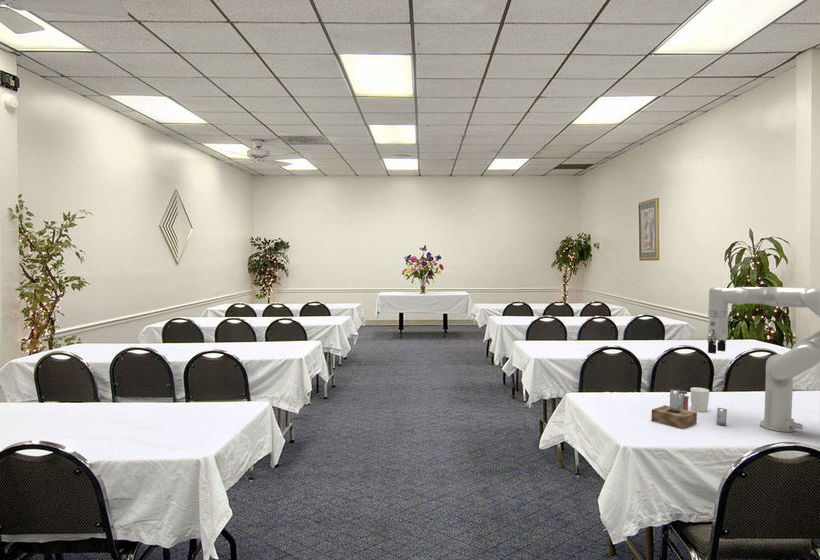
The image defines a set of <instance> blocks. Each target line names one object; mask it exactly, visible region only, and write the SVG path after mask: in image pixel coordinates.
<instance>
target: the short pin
mask: <svg viewBox="0 0 820 560" xmlns="http://www.w3.org/2000/svg"><path fill="white" fill-rule="evenodd" d="M727 413H728V409H726V408H724V407H717V408H716V425H717V426H719V427H720V426H721V427H726V426H727V417H728V416H727Z"/></svg>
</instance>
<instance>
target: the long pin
mask: <svg viewBox="0 0 820 560" xmlns="http://www.w3.org/2000/svg"><path fill="white" fill-rule="evenodd" d="M677 390H678V389H670V390H669V391H670V394H669V406H670V412H673V413H679V391H677Z"/></svg>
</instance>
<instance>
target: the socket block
mask: <svg viewBox="0 0 820 560" xmlns="http://www.w3.org/2000/svg"><path fill="white" fill-rule="evenodd" d="M697 416H698V412H697V411H693V410H689V409H688V410H683V409H679V413H673V412H670V405H666V404H665V405H662V406H658V407H656V408H653V409H651V418H650V419H651V421H652V422H654V421H655V423H658V422H659V424H662V425H666V426H670V427H675V428H678V429H682V430H685V429H688V428H690V427H692V426H696V425H697V424H698V421H697V420H698V417H697Z"/></svg>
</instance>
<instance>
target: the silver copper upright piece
mask: <svg viewBox="0 0 820 560" xmlns="http://www.w3.org/2000/svg"><path fill="white" fill-rule="evenodd" d="M676 390H677V391H679V394H681V395H683V410H688V411H689V398H690V396H689V395H688V391H686V390H680V389H676Z"/></svg>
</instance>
